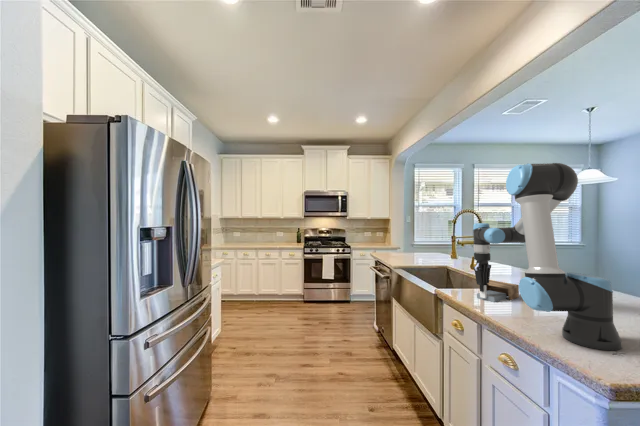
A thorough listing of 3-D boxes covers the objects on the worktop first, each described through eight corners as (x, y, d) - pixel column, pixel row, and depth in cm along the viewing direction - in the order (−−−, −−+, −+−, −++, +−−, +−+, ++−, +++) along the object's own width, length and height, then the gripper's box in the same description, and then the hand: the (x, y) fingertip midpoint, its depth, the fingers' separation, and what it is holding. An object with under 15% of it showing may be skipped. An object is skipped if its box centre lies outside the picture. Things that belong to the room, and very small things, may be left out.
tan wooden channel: (511, 299, 149) (510, 287, 149) (481, 293, 162) (481, 281, 162) (518, 297, 153) (518, 284, 153) (489, 291, 166) (489, 279, 166)
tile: (494, 303, 145) (494, 297, 145) (476, 299, 153) (476, 293, 153) (506, 299, 151) (506, 293, 151) (489, 295, 159) (489, 290, 159)
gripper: (482, 254, 143) (483, 301, 143) (496, 252, 150) (497, 297, 149) (467, 252, 149) (469, 297, 149) (481, 250, 156) (483, 294, 156)
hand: (483, 297), depth 149 cm, fingers closed
